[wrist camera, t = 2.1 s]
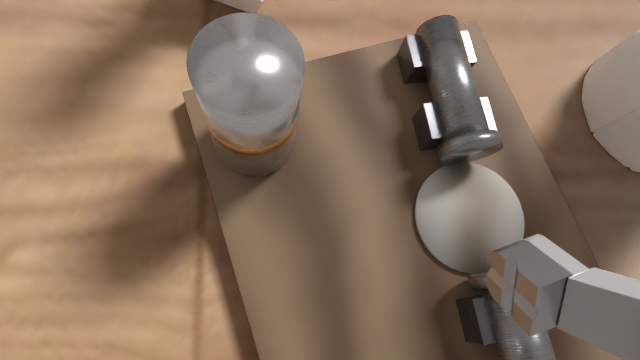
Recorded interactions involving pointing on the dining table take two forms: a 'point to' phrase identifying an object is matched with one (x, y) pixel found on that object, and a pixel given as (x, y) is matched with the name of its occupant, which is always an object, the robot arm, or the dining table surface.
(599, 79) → the decorative vase
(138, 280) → the dining table surface
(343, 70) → the walnut base board
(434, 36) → the far steel shaft
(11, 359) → the dining table surface
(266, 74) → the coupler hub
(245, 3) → the white peg on base
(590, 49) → the dining table surface
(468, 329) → the near steel shaft
